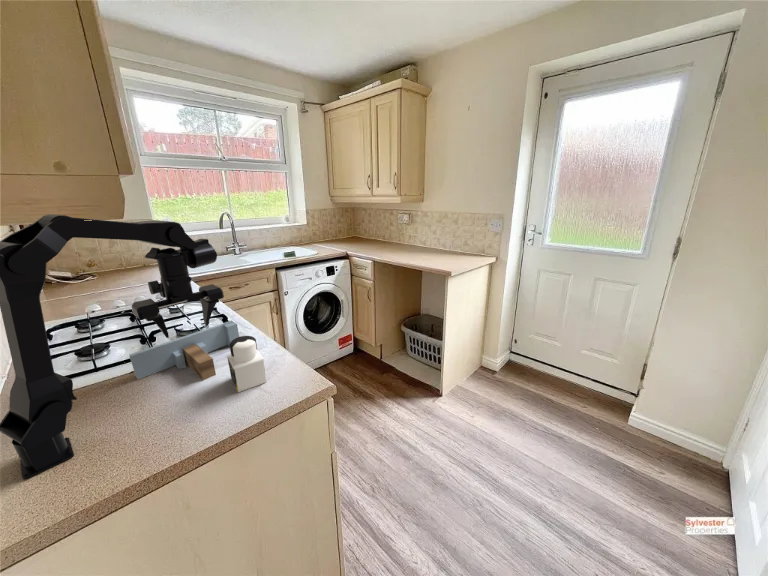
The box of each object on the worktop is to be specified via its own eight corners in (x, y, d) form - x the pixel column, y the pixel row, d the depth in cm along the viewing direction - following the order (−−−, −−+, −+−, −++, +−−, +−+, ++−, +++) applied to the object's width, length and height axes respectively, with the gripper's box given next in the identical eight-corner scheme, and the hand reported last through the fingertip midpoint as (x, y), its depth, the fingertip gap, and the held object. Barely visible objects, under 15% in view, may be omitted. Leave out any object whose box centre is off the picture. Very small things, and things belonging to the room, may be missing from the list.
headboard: (241, 344, 97) (238, 324, 95) (141, 384, 78) (133, 360, 76) (234, 340, 99) (231, 320, 97) (136, 377, 81) (129, 354, 78)
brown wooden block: (216, 374, 82) (212, 358, 81) (203, 380, 80) (199, 363, 78) (197, 358, 90) (194, 343, 88) (185, 363, 87) (181, 347, 85)
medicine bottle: (231, 378, 81) (223, 338, 77) (259, 369, 85) (253, 330, 81) (237, 393, 75) (230, 350, 71) (267, 382, 79) (261, 341, 75)
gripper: (202, 260, 87) (211, 311, 92) (117, 275, 73) (134, 334, 78) (219, 267, 80) (229, 322, 85) (130, 285, 66) (148, 349, 72)
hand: (187, 330), depth 80 cm, fingers open, 9 cm apart
